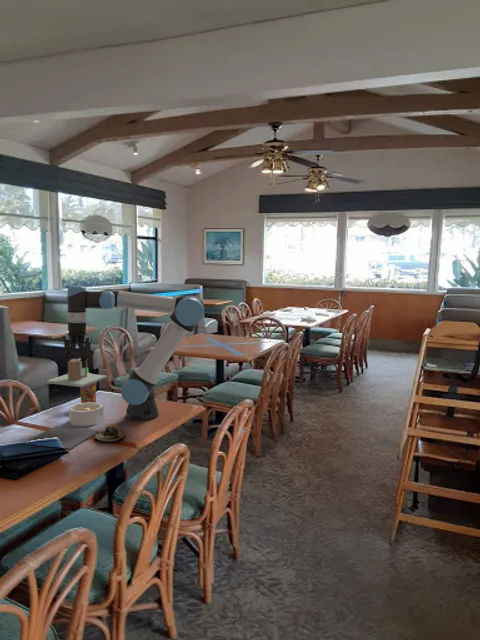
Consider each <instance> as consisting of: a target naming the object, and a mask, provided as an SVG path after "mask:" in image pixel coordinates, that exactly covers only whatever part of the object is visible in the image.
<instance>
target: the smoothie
mask: <svg viewBox="0 0 480 640" xmlns="http://www.w3.org/2000/svg"><path fill="white" fill-rule="evenodd" d="M87 373H88V374H92V373H91V372H89V367H87ZM79 392H80V403H87V402H93V403H97V382H95V383H93V384H90V385H87V386H85V387H79Z"/></svg>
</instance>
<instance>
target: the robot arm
mask: <svg viewBox="0 0 480 640" xmlns="http://www.w3.org/2000/svg"><path fill="white" fill-rule="evenodd" d="M66 298H67V321H68V323H67V330H68V331H67V332H68V333H67V334H66V335H62V339H63V346H64V348H63V349H64V350H63V351H64V358H65V359H67V360H68V361H71V360H75V359H76V357H75V355H76V348H77V346H78V349H79V350H78V351H79V355H80V357H79V358H81V360H80V361H79V362H80V376H82V375H85V368H86V360H87V361H88V360H90V359H91V346H92V345H91V343H92V339H93V337H92V336H88V335H87V322H86V321H87V309H99V310H110V309H113V308H124V309H132V310H139V311H140V310H141V311H147V312H155V313H164V314H171V315H170V316H169V323H168V325H167V327H165V329H164V331H163V332H162V334H161V336H160V337H159V338H158V340H157V341H156V343H155V344H154V345H153V347H152V349H151V350H150V351H149V353H148V354H147V355H146V357H145V359H144V360H143V362H142V363H141V365H140V366H138V367H131V368H129V371H128V375H129V376H128V378H127V379H126V381H124V382H123V384H122V386H121V390H120V394H121V397H122V399H123V401H125V403H127V404H128V405H127V408H126V411H125V417H126V419H128V420H132V421H148V420H149V421H150V420H153V419H156V418H157V417H158V416H159V414H160V413H159V407H158V404H157V402H156V396H155V394H156V393H155V391H156V390H155V389H156V388H155V387H156V385H157V384H158V380H157V377H158V376H159V375H160V373H161V372H162V371H163V369H164V368H165V366H166V364H167V363H168V362H169V360H170V358H171V357H172V355H174V353H175V351H176V350H177V349H178V347H179V345H180V344H181V343H182V341H183V340H184V339H185V337H186V335H187V334H191V333H193V332H194V329H196V327H197V325H198V324H199V323H200V322H201V321H202V319H203V317H204V314H205V310H206V306H205V304H204V301H203V300H202V299H201V298H200V297H198V296H195V295H175V296H174V297H173V296H166V295H156V294H149V293H140V292H131V291H123V290H113V289H111V288H106V289H103V290H99V291H98V290H95V291H93V290H90V291H89V290H87V287H86V286H84V285H70V286H68V288H67V295H66Z"/></svg>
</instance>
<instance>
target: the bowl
mask: <svg viewBox="0 0 480 640" xmlns="http://www.w3.org/2000/svg"><path fill="white" fill-rule="evenodd" d="M68 415H69V417H68V418H69V423H70V424H71V426H76V427H77V426H78V427H86V426H87V427H88V426H94V425H98V424H100V423H101V422H103V421H105V420H104V419H105V418H104V417H105V416H104V405H103V404H102V403H101V402H96V403H93V402H87V403H81V402H80V403H75V404H73V405H71V406H69V407H68Z"/></svg>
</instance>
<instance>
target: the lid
mask: <svg viewBox="0 0 480 640" xmlns="http://www.w3.org/2000/svg"><path fill="white" fill-rule="evenodd" d="M74 359H75V360H71V361H69V360H68V361H67V373H65V374H63V375H60V376H57V377H54V378H51V379H47V380H46V383H47V384H54V385H61V386H69V387H77V388H80V387H85V386H87V385H90V384H93V383H95V382H100V381H103V380H106V379H108V375H105V374H103V375H102V374H94V373H91V374H88V373H89V372H88V373H87V368H88V360H86V368H85V375H82V376H80V362H79V361H80V360H81V357H79V358H74Z"/></svg>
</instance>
